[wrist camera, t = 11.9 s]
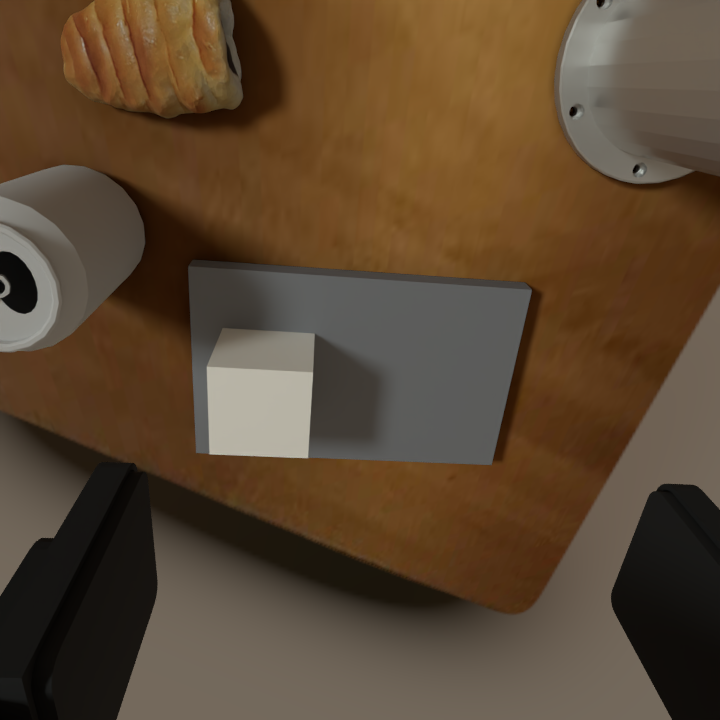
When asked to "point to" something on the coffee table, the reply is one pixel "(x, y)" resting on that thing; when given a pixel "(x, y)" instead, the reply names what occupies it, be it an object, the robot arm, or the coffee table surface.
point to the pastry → (154, 55)
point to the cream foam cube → (260, 393)
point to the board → (375, 354)
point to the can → (61, 252)
